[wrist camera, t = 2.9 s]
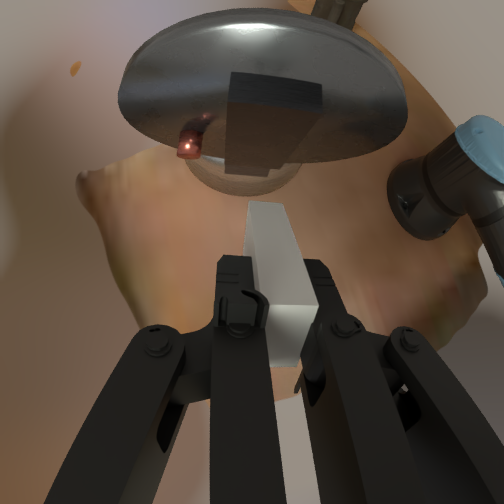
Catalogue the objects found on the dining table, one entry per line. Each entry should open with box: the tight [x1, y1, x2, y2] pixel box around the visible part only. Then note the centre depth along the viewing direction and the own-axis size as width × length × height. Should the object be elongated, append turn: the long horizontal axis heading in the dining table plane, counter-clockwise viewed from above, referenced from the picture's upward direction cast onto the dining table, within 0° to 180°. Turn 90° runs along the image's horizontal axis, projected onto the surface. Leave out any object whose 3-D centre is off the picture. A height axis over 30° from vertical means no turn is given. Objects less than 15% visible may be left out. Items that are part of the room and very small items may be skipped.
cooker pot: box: [185, 155, 302, 196], centre depth 39 cm, size 25×21×12 cm
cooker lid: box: [118, 8, 408, 170], centre depth 20 cm, size 21×21×4 cm
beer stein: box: [311, 0, 368, 31], centre depth 44 cm, size 15×11×20 cm
